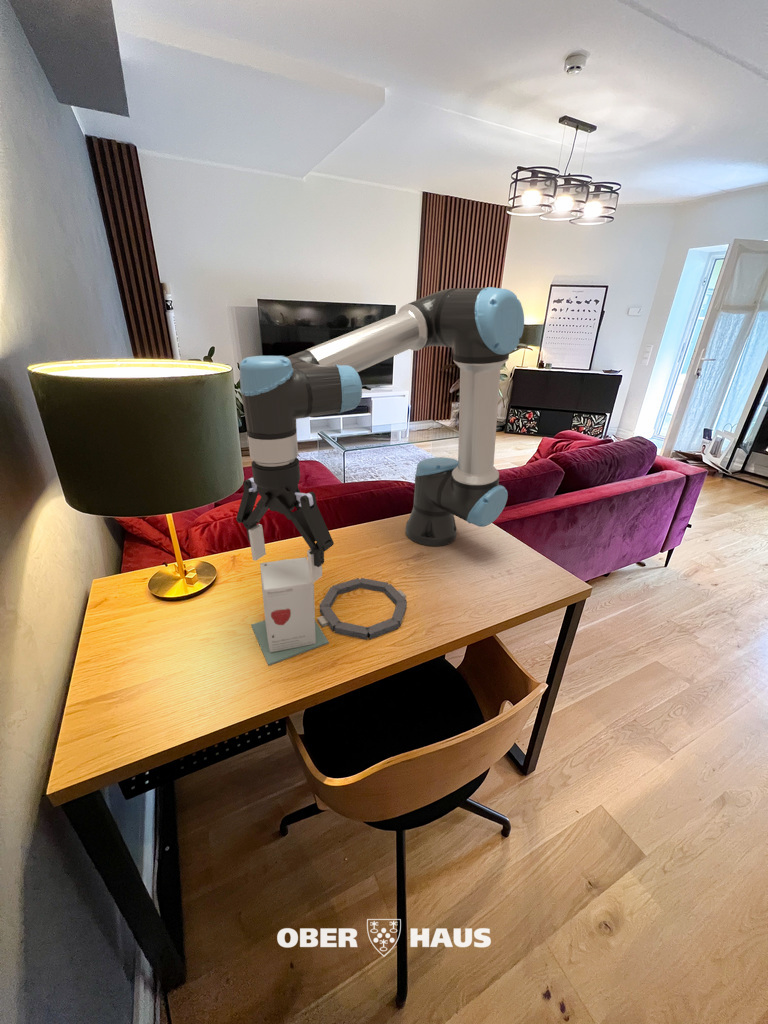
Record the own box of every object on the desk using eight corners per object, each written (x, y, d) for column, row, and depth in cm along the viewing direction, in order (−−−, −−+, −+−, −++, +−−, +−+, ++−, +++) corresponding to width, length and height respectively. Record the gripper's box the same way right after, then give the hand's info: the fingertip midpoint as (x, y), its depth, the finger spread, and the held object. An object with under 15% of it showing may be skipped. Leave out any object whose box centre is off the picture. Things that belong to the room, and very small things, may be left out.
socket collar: (383, 575, 102) (383, 570, 102) (425, 618, 89) (426, 612, 88) (304, 599, 92) (303, 594, 92) (338, 652, 79) (338, 646, 78)
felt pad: (306, 608, 90) (306, 606, 90) (328, 643, 81) (328, 641, 81) (251, 626, 84) (251, 624, 84) (268, 665, 75) (268, 664, 75)
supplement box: (269, 654, 77) (261, 589, 70) (265, 623, 85) (258, 561, 78) (317, 644, 80) (314, 581, 73) (309, 615, 87) (306, 555, 81)
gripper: (352, 466, 64) (354, 577, 73) (237, 440, 74) (252, 540, 84) (323, 482, 58) (329, 601, 67) (203, 451, 68) (223, 557, 78)
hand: (286, 567), depth 76 cm, fingers open, 13 cm apart
